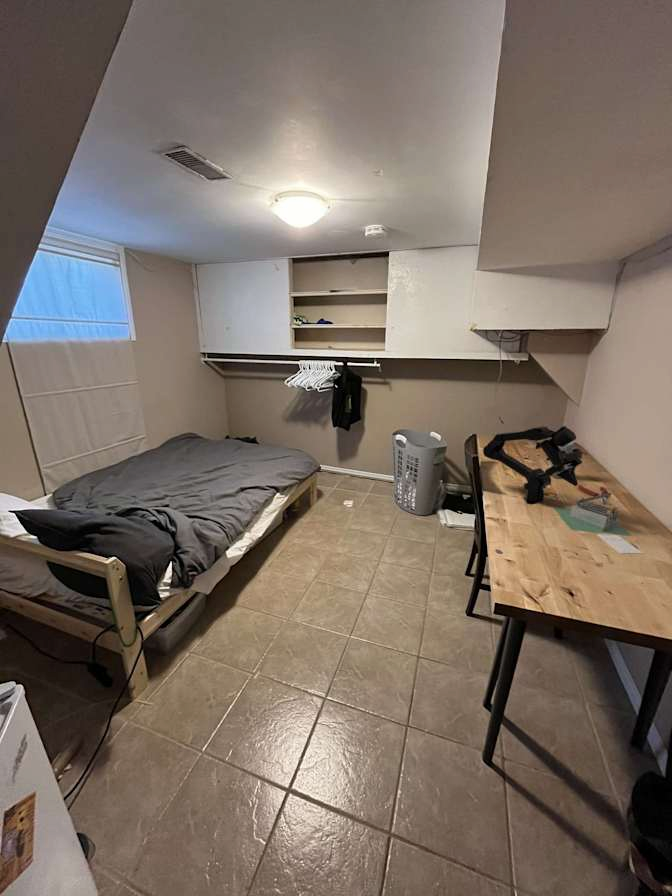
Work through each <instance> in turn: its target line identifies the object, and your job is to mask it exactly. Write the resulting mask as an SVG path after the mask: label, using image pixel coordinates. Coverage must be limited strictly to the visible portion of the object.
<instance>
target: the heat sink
mask: <svg viewBox="0 0 672 896" xmlns="http://www.w3.org/2000/svg"><path fill="white" fill-rule="evenodd" d="M582 499H585V498H584V497H582V498H581V499H580V500H582ZM580 500H575V502H574V504H575V505H574V504H573V505H572V506H571V509H572V510H571V515H569V519H571V520H574V521H576V522H579V523H582V524H584V525H587V526H590V527H592V528H595V529H598V530H600V531H604V530H606V529H607V528H609V527H611V526H613V525H615V524H616V523H618V517H619V513H620V511H619V510H618V508H619V507H618V506H613V508H611V507H608V506H605V505H602V504H598V503H596V502H592V501H591V500H590V501H586V502H581V503H580Z"/></svg>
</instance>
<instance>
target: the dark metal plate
mask: <svg viewBox="0 0 672 896" xmlns="http://www.w3.org/2000/svg"><path fill="white" fill-rule="evenodd" d="M611 495H612V492H607V494H603V495H601V494H600V495H599V496H595V497H592V496H590V497H587V498H584V499H582V500H581V499H580V500H579V501H580V503H581V502H586V501H590V502H591V501H593V500H598V499H599V498H603V497H607V496H608V497H610V496H611ZM608 497H607V498H608Z"/></svg>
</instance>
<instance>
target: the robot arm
mask: <svg viewBox="0 0 672 896" xmlns="http://www.w3.org/2000/svg"><path fill="white" fill-rule="evenodd" d="M576 439H577V436H576V433H575V432H574V431H572V429H570V428H568V427H567V426H566V425H565V426H561V427H559V429H558V430H556V431H554V430H551V429H549V427H547V426H544V425H543V426H537V427H533V428H529V429H527V430H522V431H512V432H499V433H496V434H495V436H494V437H493V438H492V439H491V440H490V441H489V442H488V443H487V444H486V446H484V447H483V450H482V453H483V455H484V457H486V458H488V459H491V460H493V461H499V462H500V463H501V464H503V465H505V466H506V467H508V468H509V469H511V470H513V471H514V472H516V473H518V475H521V476H522V477H524V478H525V480H526V483H524V484H523V487H524V489H525V494H524V496H523V499H524V501H525V502H526V504H529V505H530V504H531V505H537V504H538V503H541V502H544V499H545V493H544V489H547V487H548V486H550V485H551V484H552V474H554V473H556V472H558V473H559V474H557V475H556V476H559V477H560V478H559V479H562V480H564V481H566V482H567V483H569V484H570V485H573V486H574V487H576V486H577V487H578V485H579V484H578V483H579V482H578V480H577V476H576V473H575V471H576V468H577V467H578V466H579V465H581V464H583V460H582V459H583V454H584V452H583V451H582V450H581V449H580V448H579V447H577V448H573V450H572V452H570V453H566V451H564V450H563V451H561V449H560V448H559V447H558V446H561V447H564V446H565V445H567V444H569V443H570V442H574V441H575V440H576ZM521 440H527V441H532V442H536V445H535V450H538V449H541V450H542V451H543V452H544V454H545V456H546V457H547V458H546V460H547V462H549V461H550V462H551V466H552V464H553V466H552V467H551V466H550V467H548V468H547V469H545V470H543V469H542V468H540V467H538V468H535V469H532V468H531V467H529V466H528V465H526V464H524V463H522V462H521V461H519V460H517V459H516V458H515V457H513V456H511V455H509V454H507V453H506V451H505V449H504V447H505V443H506V442H510V441H521ZM542 440H543V441H542ZM540 441H541V442H540Z"/></svg>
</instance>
